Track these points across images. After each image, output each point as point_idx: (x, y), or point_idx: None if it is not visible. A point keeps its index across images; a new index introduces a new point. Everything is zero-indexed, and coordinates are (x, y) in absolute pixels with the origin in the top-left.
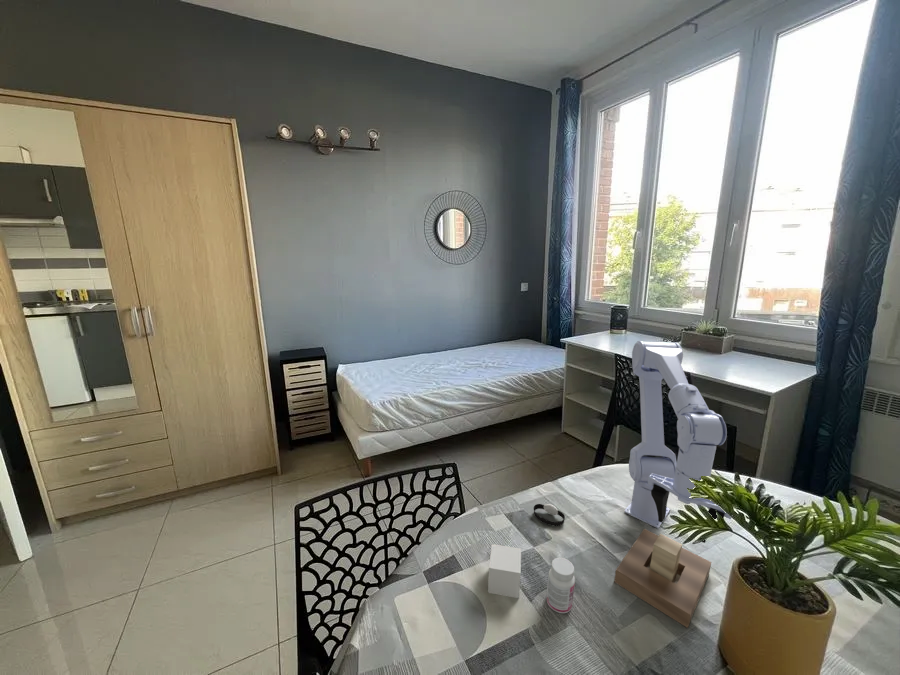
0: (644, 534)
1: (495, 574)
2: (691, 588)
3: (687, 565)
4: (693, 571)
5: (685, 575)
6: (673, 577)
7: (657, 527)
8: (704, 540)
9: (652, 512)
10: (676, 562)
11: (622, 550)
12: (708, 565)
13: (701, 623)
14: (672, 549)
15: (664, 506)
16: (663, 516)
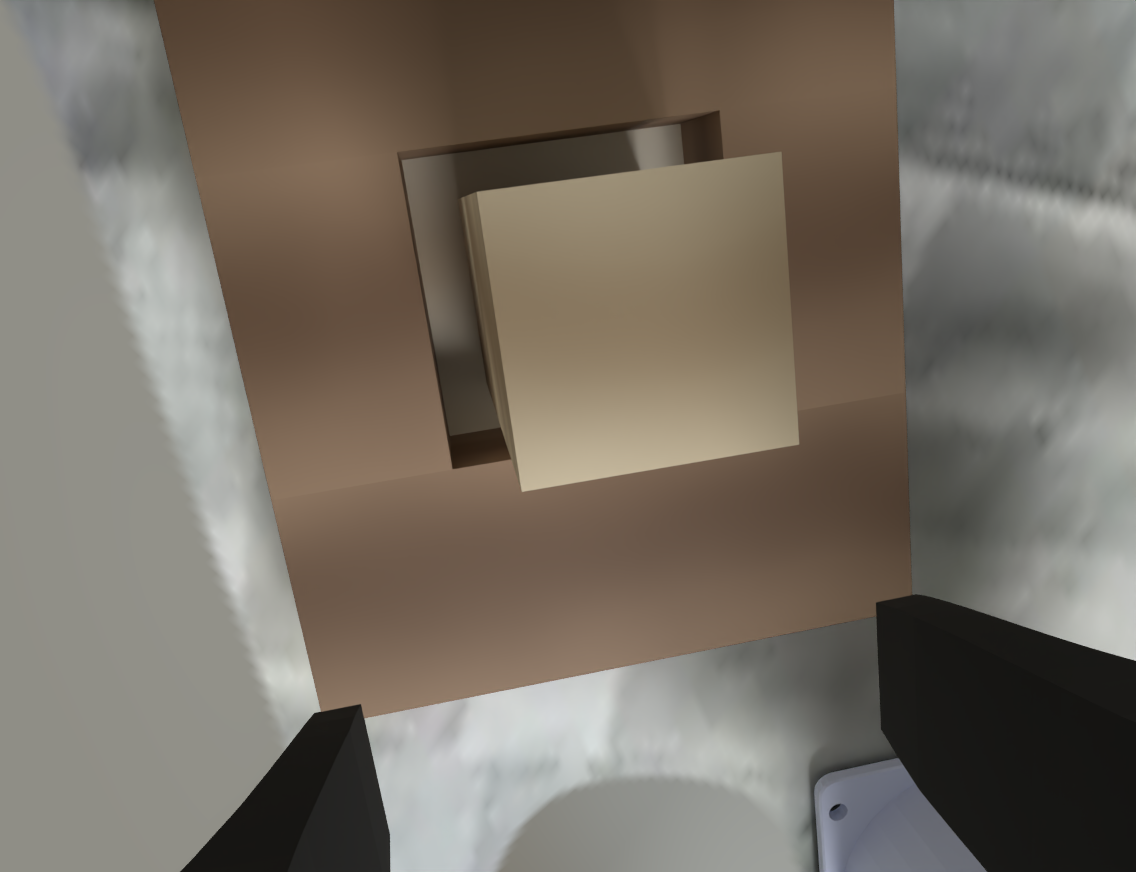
0: (880, 536)
1: None
2: (283, 232)
3: (444, 498)
4: (374, 471)
5: (398, 353)
6: (471, 266)
7: (823, 780)
8: (304, 731)
9: (939, 866)
10: (483, 292)
11: (916, 290)
12: (323, 664)
13: (130, 78)
14: (565, 273)
15: (1052, 818)
16: (922, 688)
